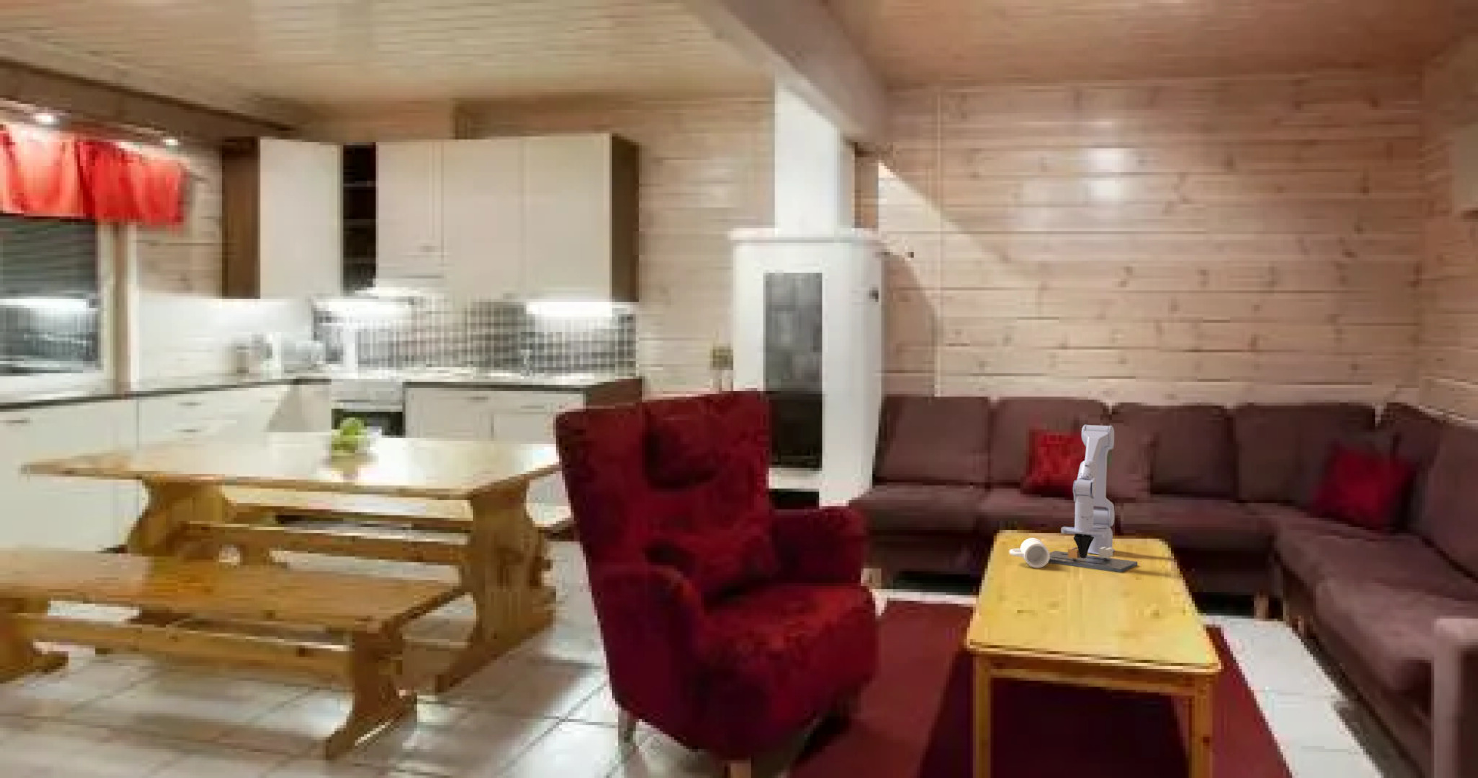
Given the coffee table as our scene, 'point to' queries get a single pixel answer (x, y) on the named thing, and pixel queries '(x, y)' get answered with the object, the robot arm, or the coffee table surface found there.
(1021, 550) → the mug
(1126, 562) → the mixer board
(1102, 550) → the cream fader
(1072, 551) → the orange fader
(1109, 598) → the coffee table surface
